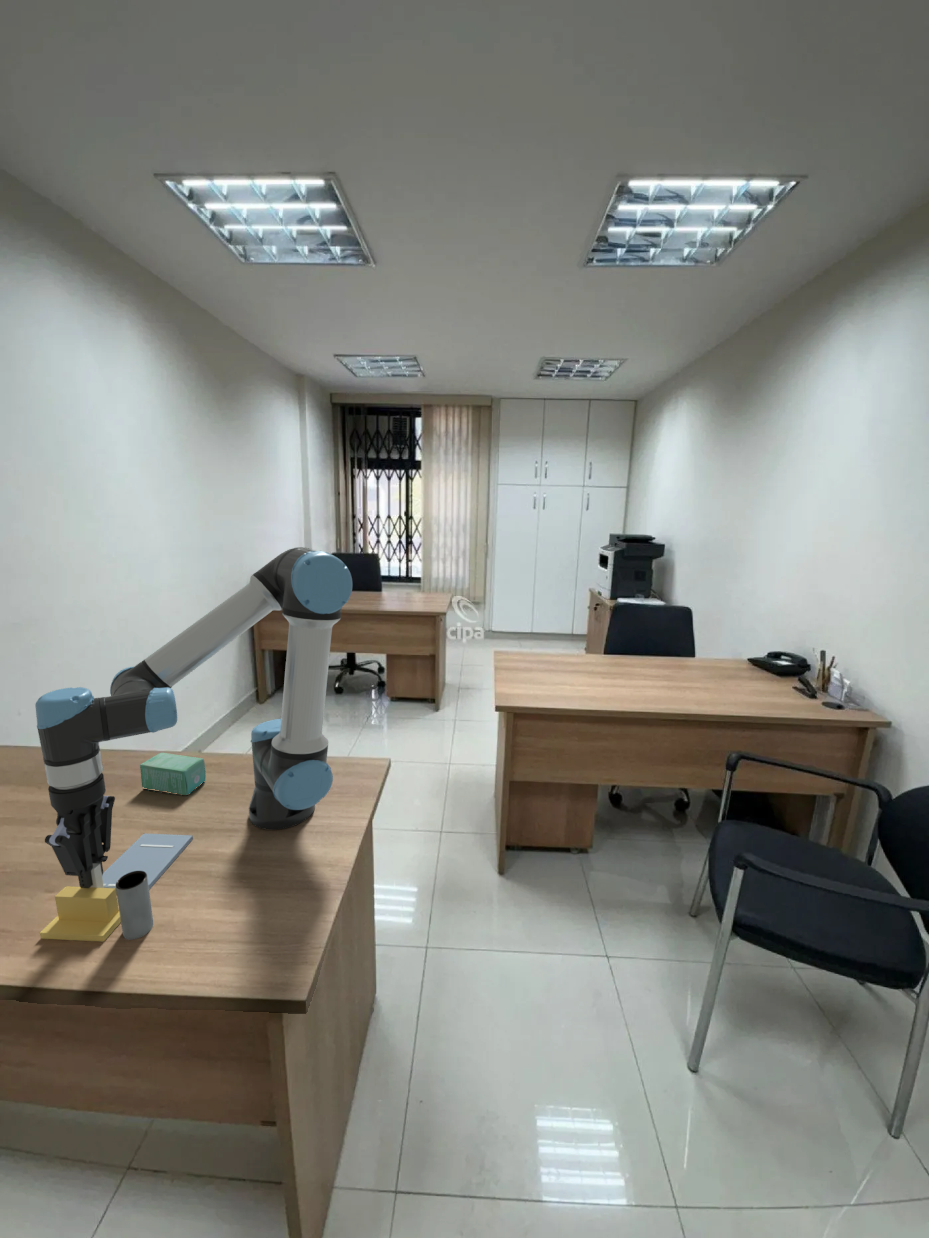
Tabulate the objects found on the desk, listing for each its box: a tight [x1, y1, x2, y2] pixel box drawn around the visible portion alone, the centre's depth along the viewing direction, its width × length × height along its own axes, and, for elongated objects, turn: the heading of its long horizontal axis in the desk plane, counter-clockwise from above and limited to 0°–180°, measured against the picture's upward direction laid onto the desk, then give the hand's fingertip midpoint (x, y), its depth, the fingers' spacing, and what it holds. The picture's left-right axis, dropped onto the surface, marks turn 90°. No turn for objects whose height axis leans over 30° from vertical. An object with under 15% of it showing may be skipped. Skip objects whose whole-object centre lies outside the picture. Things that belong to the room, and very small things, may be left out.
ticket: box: [102, 833, 194, 890], centre depth 104 cm, size 11×16×1 cm
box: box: [139, 752, 207, 796], centre depth 132 cm, size 7×14×8 cm, turn 80°
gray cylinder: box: [116, 871, 154, 941], centre depth 87 cm, size 4×4×10 cm
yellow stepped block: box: [39, 885, 121, 942], centre depth 88 cm, size 11×6×6 cm, turn 88°
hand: (94, 897), depth 91 cm, fingers closed
